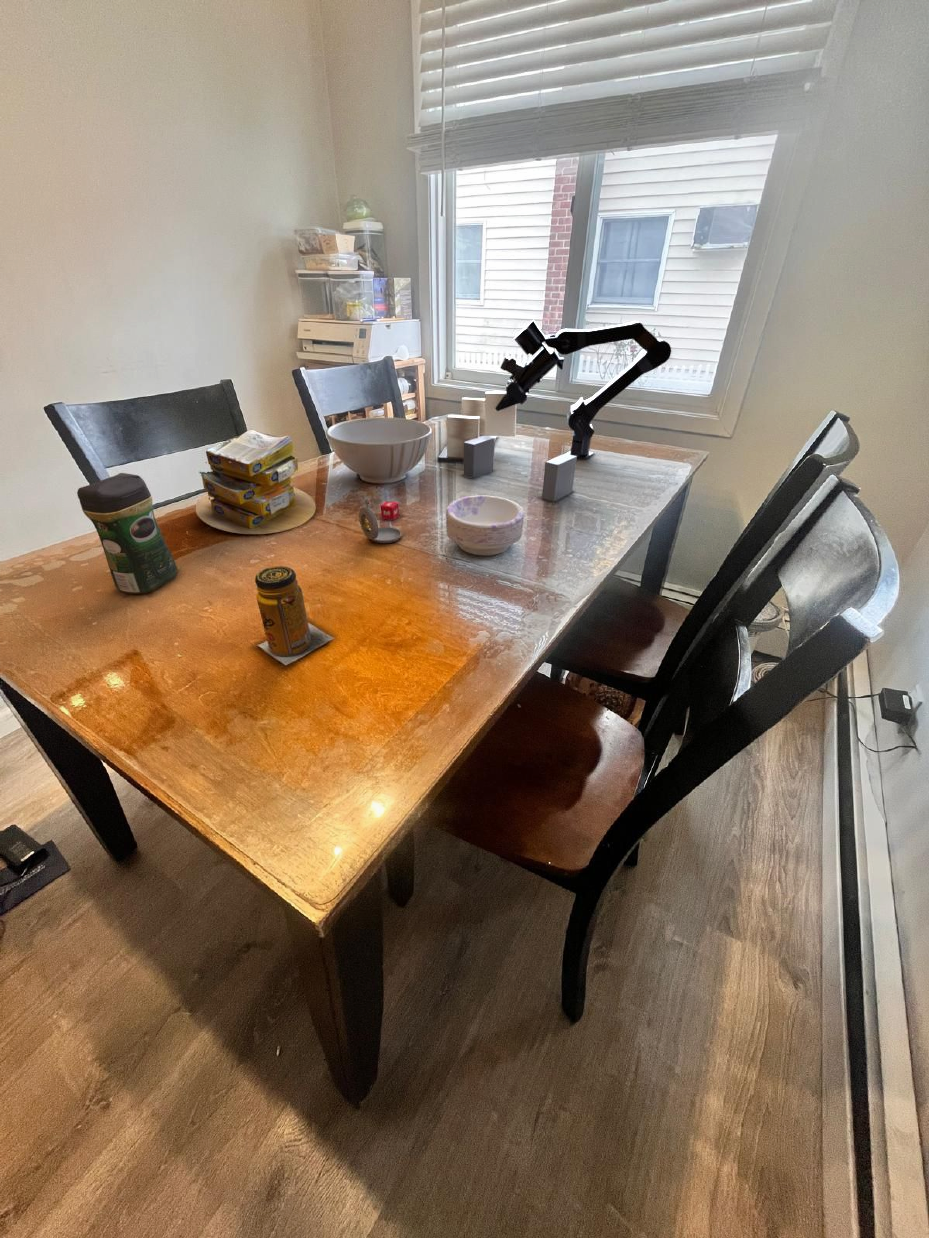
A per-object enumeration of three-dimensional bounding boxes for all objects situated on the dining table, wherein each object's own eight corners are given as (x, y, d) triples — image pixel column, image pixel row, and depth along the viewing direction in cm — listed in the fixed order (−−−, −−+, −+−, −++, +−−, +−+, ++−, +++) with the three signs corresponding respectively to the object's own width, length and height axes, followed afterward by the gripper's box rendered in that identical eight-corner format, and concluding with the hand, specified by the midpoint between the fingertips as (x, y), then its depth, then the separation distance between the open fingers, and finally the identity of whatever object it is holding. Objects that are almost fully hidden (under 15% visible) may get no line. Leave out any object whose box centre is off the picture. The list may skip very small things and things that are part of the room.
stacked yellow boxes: (338, 509, 119) (328, 435, 110) (246, 547, 102) (225, 463, 93) (269, 487, 131) (255, 418, 121) (176, 518, 114) (152, 441, 104)
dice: (393, 520, 115) (392, 507, 113) (381, 518, 115) (380, 505, 114) (399, 515, 117) (398, 502, 115) (387, 513, 118) (386, 500, 116)
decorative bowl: (429, 494, 128) (427, 445, 121) (321, 492, 128) (314, 443, 121) (435, 461, 150) (434, 418, 143) (343, 459, 150) (338, 416, 143)
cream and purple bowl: (509, 569, 97) (512, 529, 92) (434, 555, 101) (433, 517, 96) (529, 536, 108) (532, 500, 104) (461, 525, 113) (462, 490, 108)
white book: (515, 433, 158) (517, 391, 151) (514, 436, 155) (516, 393, 148) (486, 432, 159) (486, 391, 152) (484, 435, 156) (485, 393, 149)
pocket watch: (406, 534, 109) (404, 488, 103) (389, 550, 102) (385, 502, 96) (372, 528, 111) (367, 482, 105) (352, 544, 104) (346, 497, 99)
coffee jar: (153, 566, 95) (116, 466, 85) (187, 573, 93) (154, 472, 83) (107, 591, 88) (61, 485, 77) (143, 600, 86) (100, 492, 75)
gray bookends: (483, 468, 146) (484, 435, 141) (572, 491, 131) (577, 456, 126) (463, 476, 140) (463, 442, 135) (553, 501, 125) (558, 464, 120)
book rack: (496, 437, 173) (498, 398, 166) (485, 464, 149) (487, 420, 142) (455, 434, 175) (455, 396, 168) (437, 461, 150) (437, 417, 143)
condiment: (257, 646, 76) (238, 574, 69) (305, 621, 81) (292, 553, 74) (286, 666, 72) (268, 593, 65) (334, 639, 77) (323, 569, 71)
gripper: (519, 341, 151) (480, 381, 158) (517, 349, 135) (474, 393, 142) (544, 372, 154) (505, 409, 161) (544, 383, 139) (501, 424, 146)
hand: (496, 408), depth 153 cm, fingers closed on white book, 4 cm apart
